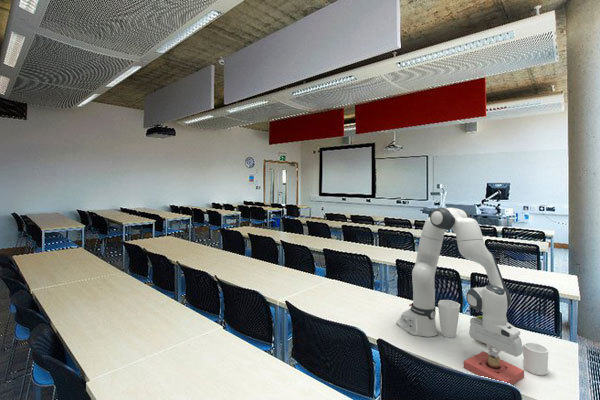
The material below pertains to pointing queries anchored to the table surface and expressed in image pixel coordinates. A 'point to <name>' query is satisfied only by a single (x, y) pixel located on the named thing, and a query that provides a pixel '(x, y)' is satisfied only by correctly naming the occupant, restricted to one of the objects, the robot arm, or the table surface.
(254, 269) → the table surface
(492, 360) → the tan cylinder plug
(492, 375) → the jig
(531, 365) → the mug
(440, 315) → the cup
